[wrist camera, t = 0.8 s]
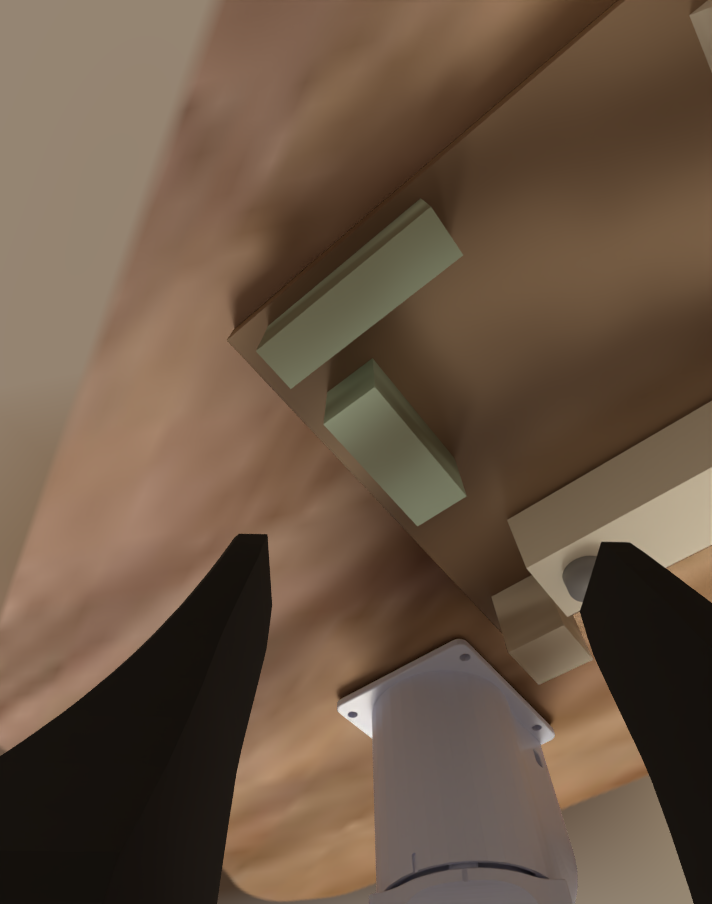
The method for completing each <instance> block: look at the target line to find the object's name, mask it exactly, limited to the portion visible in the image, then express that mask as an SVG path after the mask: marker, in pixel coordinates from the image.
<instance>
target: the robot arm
mask: <svg viewBox="0 0 712 904" xmlns="http://www.w3.org/2000/svg"><path fill="white" fill-rule="evenodd" d="M271 610H272V597H271V581H270V566H269V551H268V536H267V534H238V535H237V536H236V537H235V538H234V539H233V540H232V542H231V543H230V545H229V546H228V547H227V549H226V550H225V551H224V553H223V554H222V555H221V557H220V558H219V559H218V561H217V562H216V563H215V565H214V566H213V567H212V568H211V570H210V571H209V572H208V574H207V575H206V576H205V577H204V579H203V580H202V581H201V582H200V583H199V584H198V586H197V587H196V588H195V589H194V590H193V592H192V593H191V594H190V595H189V596H188V597H187V599H186V600H185V601H184V602H183V603H182V604H181V606H180V607H179V608H178V609H177V610H176V611H175V612H174V613H173V614H172V615H171V616H170V617H169V618H168V619H167V620H166V622H165V623H164V624H163V625H162V626H161V627H160V628H159V629H158V630H157V631H156V632H155V633H154V634H153V635H152V636H151V637H150V638H149V639H148V640H147V641H146V642H145V643H144V644H143V645H142V646H141V647H140V648H139V649H138V650H137V651H136V652H135V653H134V654H133V655H131V656H130V657H129V658H128V659H127V660H126V661H125V662H124V663H123V664H121V665H120V666H119V667H118V668H117V669H116V670H115V671H114V672H112V673H111V674H110V675H109V676H108V677H107V678H105V679H104V680H103V681H102V682H100V683H99V684H98V685H97V686H96V687H94V688H93V689H92V690H91V691H90V692H88V693H87V694H86V695H85V696H84V697H82V698H81V699H80V700H79V701H77V702H76V703H75V704H73V705H72V706H71V707H70V708H68V709H67V710H66V711H64V712H63V713H62V714H60V715H59V716H57V717H56V718H55V719H53V720H52V721H50V722H49V723H48V724H46V725H45V726H43V727H42V728H41V729H39V730H38V731H36V732H35V733H34V734H32V735H31V736H29V737H28V738H27V739H25V740H24V741H22V742H21V743H19V744H18V745H16V746H15V747H13V748H12V749H10V750H9V751H7V752H6V753H4V754H3V755H1V756H0V904H217V900H218V893H219V885H220V878H221V871H222V865H223V858H224V851H225V844H226V837H227V830H228V824H229V817H230V811H231V804H232V798H233V792H234V785H235V779H236V773H237V768H238V763H239V758H240V754H241V749H242V745H243V741H244V737H245V733H246V729H247V725H248V721H249V717H250V713H251V709H252V705H253V701H254V697H255V693H256V689H257V685H258V681H259V677H260V673H261V669H262V665H263V661H264V657H265V652H266V648H267V640H268V633H269V626H270V618H271ZM580 613H581V617H582V620H583V624H584V627H585V630H586V634H587V637H588V640H589V643H590V646H591V649H592V652H593V655H594V657H595V659H596V661H597V664H598V666H599V668H600V670H601V672H602V675H603V677H604V679H605V681H606V683H607V685H608V687H609V690H610V692H611V694H612V696H613V698H614V700H615V702H616V704H617V706H618V709H619V711H620V713H621V715H622V717H623V719H624V721H625V723H626V725H627V727H628V730H629V732H630V734H631V736H632V738H633V740H634V742H635V744H636V746H637V749H638V751H639V753H640V755H641V757H642V759H643V762H644V764H645V766H646V769H647V771H648V773H649V776H650V778H651V780H652V783H653V786H654V789H655V791H656V794H657V797H658V799H659V802H660V805H661V808H662V811H663V813H664V816H665V819H666V822H667V824H668V827H669V830H670V833H671V835H672V838H673V842H674V844H675V847H676V851H677V854H678V856H679V860H680V863H681V866H682V869H683V872H684V875H685V877H686V881H687V884H688V886H689V890H690V893H691V896H692V899H693V903H694V904H712V603H711V602H710V601H708V600H707V599H706V598H704V597H703V596H702V595H700V594H699V593H698V592H696V591H695V590H694V589H692V588H691V587H690V586H688V585H687V584H686V583H684V582H683V581H682V580H680V579H679V578H678V577H677V576H675V575H674V574H673V573H671V572H670V571H669V570H667V569H666V568H665V567H663V566H662V565H661V564H659V563H658V562H657V561H655V560H654V559H653V558H651V557H650V556H649V555H647V554H646V553H645V552H643V551H642V550H640V549H639V548H637V547H636V546H634V545H633V544H631V543H630V542H601V544H600V548H599V551H598V554H597V557H596V561H595V564H594V567H593V570H592V574H591V577H590V580H589V583H588V587H587V590H586V593H585V596H584V600H583V603H582V606H581V609H580ZM463 654H464V655H463ZM337 711H338V712H339V713H340V714H341V715H343V716H344V717H345V718H346V719H348V720H349V721H350V722H352V723H353V724H354V725H355V726H357V727H358V728H359V729H361V730H362V731H363V732H364V733H366V734H367V735H368V736H369V737H371V738H372V743H373V779H374V816H375V852H376V888H377V893H371V894H370V895H369V904H575V900H576V895H577V886H578V884H577V882H578V881H577V880H578V879H577V866H576V860H575V856H574V853H573V849H572V846H571V842H570V839H569V836H568V833H567V829H566V826H565V823H564V820H563V816H562V813H561V810H560V807H559V803H558V800H557V797H556V794H555V790H554V787H553V784H552V781H551V778H550V774H549V771H548V768H547V765H546V761H545V758H544V755H543V752H542V748H541V744H544V743H546V742H548V741H550V740H552V739H553V738H554V737H555V733H554V730H553V728H552V727H551V726H550V725H549V724H548V723H547V722H546V721H545V720H544V719H543V718H542V717H541V716H540V715H539V714H538V713H537V712H536V711H535V710H534V709H533V708H532V707H531V706H530V704H529V703H528V702H527V701H526V700H525V699H524V698H523V697H522V696H521V695H520V694H519V693H518V692H517V691H516V690H515V689H514V688H513V687H512V686H511V685H510V684H509V683H508V682H507V681H506V680H505V679H504V678H503V677H502V676H501V675H500V674H499V673H498V672H497V671H496V670H495V669H494V668H493V667H492V666H491V665H490V664H489V663H488V662H487V661H486V660H485V659H484V658H483V657H482V656H481V655H480V654H479V653H478V652H477V651H476V650H475V649H474V648H473V647H472V646H471V645H470V644H469V643H468V642H467V641H465V640H463V639H455V640H452V641H451V642H449V643H447V644H445V645H443V646H441V647H439V648H437V649H435V650H433V651H431V652H430V653H428V654H426V655H424V656H422V657H420V658H418V659H416V660H414V661H412V662H410V663H409V664H407V665H405V666H403V667H401V668H399V669H397V670H395V671H393V672H391V673H389V674H387V675H386V676H384V677H382V678H380V679H378V680H376V681H374V682H372V683H370V684H368V685H366V686H365V687H363V688H361V689H359V690H357V691H355V692H353V693H351V694H349V695H347V696H345V697H344V698H342V699H340V700H339V701H338V703H337Z"/></svg>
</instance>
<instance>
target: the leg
mask: <svg viewBox="0 0 712 904" xmlns="http://www.w3.org/2000/svg"><path fill="white" fill-rule="evenodd" d="M507 521H508V524H509V526H510V529H511V531H512V534H513V536H514V539H515V541H516V544H517V546H518V549H519V551H520V553H521V556H522V558H523V561H524V563H525V566H526V568H527V569H528V571H529V572H530V573H531V574H532V575H533V577H534V578H535V579H536V580H537V581H538V583H539V584H540V585H541V586H542V587H543V589H544V590H545V591H546V592H547V593H548V594H549V596H550V597H551V598H552V599H553V600H554V602H555V603H556V604H557V605H558V606H559V608H560V609H561V610H562V611H563V612H564V614H565V615H566V616H567V617H568V616H570V615H572V614H574V613H576V612H578V611H580V609H581V606H582V603H583V600H584V596H585V593H586V590H587V587H588V583H589V580H590V577H591V574H592V570H593V567H594V564H595V561H596V557H597V554H598V551H599V548H600V544H601V542H630V543H631V544H633V545H634V546H636V547H637V548H639V549H640V550H642V551H643V552H645V553H646V554H647V555H649V556H650V557H651V558H653V559H654V560H655V561H657V562H658V563H659V564H661V565H662V566H663V567H665V568H666V567H668V566H670V565H672V564H674V563H676V562H678V561H680V560H682V559H684V558H686V557H688V556H690V555H692V554H694V553H696V552H698V551H700V550H702V549H704V548H706V547H708V546H710V545H712V401H710V402H709V403H707V404H705V405H704V406H702V407H700V408H698V409H697V410H695V411H693V412H691V413H690V414H688V415H686V416H685V417H683V418H681V419H679V420H678V421H676V422H674V423H673V424H671V425H669V426H667V427H666V428H664V429H662V430H661V431H659V432H657V433H655V434H654V435H652V436H650V437H649V438H647V439H645V440H643V441H642V442H640V443H638V444H637V445H635V446H633V447H631V448H630V449H628V450H626V451H625V452H623V453H621V454H619V455H618V456H616V457H614V458H613V459H611V460H609V461H607V462H606V463H604V464H602V465H601V466H599V467H597V468H595V469H594V470H592V471H590V472H589V473H587V474H585V475H583V476H582V477H580V478H578V479H577V480H575V481H573V482H571V483H570V484H568V485H566V486H565V487H563V488H561V489H559V490H558V491H556V492H554V493H553V494H551V495H549V496H547V497H546V498H544V499H542V500H541V501H539V502H537V503H535V504H534V505H532V506H530V507H529V508H527V509H525V510H523V511H522V512H520V513H518V514H516V515H515V516H513V517H511V518H510V519H508V520H507Z"/></svg>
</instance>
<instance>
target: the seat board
mask: <svg viewBox="0 0 712 904" xmlns="http://www.w3.org/2000/svg"><path fill="white" fill-rule="evenodd" d="M227 341H228V342H229V343H230V344H231V345H232V346H233V347H234V349H235V350H236V351H237V352H238V353H239V354H240V355H241V356H242V357H243V358H244V359H245V360H246V361H247V362H248V363H249V364H250V366H251V367H252V368H253V369H254V370H255V371H256V372H257V373H258V374H259V375H260V376H261V377H262V378H263V379H264V380H265V382H266V383H267V384H268V385H269V386H270V387H271V388H272V389H273V390H274V391H275V392H276V393H277V394H278V395H279V396H280V397H281V399H282V400H283V401H284V402H285V403H286V404H287V405H288V406H289V407H290V408H291V409H292V410H293V411H294V412H295V413H296V414H297V416H298V417H299V418H300V419H301V420H302V421H303V422H304V423H305V424H306V425H307V426H308V427H309V428H310V429H311V430H312V432H313V433H314V434H315V435H316V436H317V437H318V438H319V439H320V440H321V441H322V442H323V443H324V444H325V445H326V446H327V447H328V449H329V450H330V451H331V452H332V453H333V454H334V455H335V456H336V457H337V458H338V459H339V460H340V461H341V462H342V463H343V465H344V466H345V467H346V468H347V469H348V470H349V471H350V472H351V473H352V474H353V475H354V476H355V477H356V478H357V479H358V480H359V482H360V483H361V484H362V485H363V486H364V487H365V488H366V489H367V490H368V491H369V492H370V493H371V494H372V495H373V496H374V497H375V499H376V500H377V501H378V502H379V503H380V504H381V505H382V506H383V507H384V508H385V509H386V510H387V511H388V512H389V513H390V515H391V516H392V517H393V518H394V519H395V520H396V521H397V522H398V523H399V524H400V525H401V526H402V527H403V528H404V529H405V530H406V532H407V533H408V534H409V535H410V536H411V537H412V538H413V539H414V540H415V541H416V542H417V543H418V544H419V545H420V546H421V548H422V549H423V550H424V551H425V552H426V553H427V554H428V555H429V556H430V557H431V558H432V559H433V560H434V561H435V562H436V563H437V565H438V566H439V567H440V568H441V569H442V570H443V571H444V572H445V573H446V574H447V575H448V576H449V577H450V578H451V579H452V580H453V582H454V583H455V584H456V585H457V586H458V587H459V588H460V589H461V590H462V591H463V592H464V593H465V594H466V595H467V596H468V598H469V599H470V600H471V601H472V602H473V603H474V604H475V605H476V606H477V607H478V608H479V609H480V610H481V611H482V612H483V613H484V615H485V616H486V617H487V618H488V619H489V620H490V621H491V622H492V623H493V624H494V625H495V626H496V627H497V628H498V629H499V631H500V632H501V633H502V634H503V637H504V641H505V644H506V647H507V651H508V653H509V654H510V655H511V656H512V657H513V658H514V659H515V660H516V662H517V663H518V664H519V665H520V666H521V667H522V668H523V669H524V670H525V671H526V672H527V673H528V674H529V675H530V676H531V677H532V678H533V679H534V680H535V681H536V682H537V684H538V685H540V684H542V683H544V682H546V681H548V680H550V679H553V678H555V677H557V676H559V675H561V674H563V673H565V672H568V671H570V670H572V669H574V668H576V667H578V666H580V665H583V664H585V663H587V662H589V661H591V660H593V658H592V656H591V654H590V651H589V649H588V647H587V645H586V643H585V641H584V638H583V636H582V634H581V632H580V630H579V628H578V625H577V623H576V621H575V619H574V617H573V615H574V614H576V613H578V612H580V611H578V612H576V613H574V614H572V615H570V616H568V617H567V616H566V615H565V614H564V612H563V611H562V610H561V609H560V608H559V606H558V605H557V604H556V603H555V602H554V600H553V599H552V598H551V597H550V596H549V594H548V593H547V592H546V591H545V590H544V589H543V587H542V586H541V585H540V584H539V583H538V581H537V580H536V579H535V578H534V577H533V575H532V574H531V573H530V572H529V571H528V569H527V568H526V566H525V563H524V561H523V558H522V556H521V553H520V551H519V549H518V546H517V544H516V541H515V539H514V536H513V534H512V531H511V529H510V526H509V524H508V521H507V520H508V519H510V518H511V517H513V516H515V515H516V514H518V513H520V512H522V511H523V510H525V509H527V508H529V507H530V506H532V505H534V504H535V503H537V502H539V501H541V500H542V499H544V498H546V497H547V496H549V495H551V494H553V493H554V492H556V491H558V490H559V489H561V488H563V487H565V486H566V485H568V484H570V483H571V482H573V481H575V480H577V479H578V478H580V477H582V476H583V475H585V474H587V473H589V472H590V471H592V470H594V469H595V468H597V467H599V466H601V465H602V464H604V463H606V462H607V461H609V460H611V459H613V458H614V457H616V456H618V455H619V454H621V453H623V452H625V451H626V450H628V449H630V448H631V447H633V446H635V445H637V444H638V443H640V442H642V441H643V440H645V439H647V438H649V437H650V436H652V435H654V434H655V433H657V432H659V431H661V430H662V429H664V428H666V427H667V426H669V425H671V424H673V423H674V422H676V421H678V420H679V419H681V418H683V417H685V416H686V415H688V414H690V413H691V412H693V411H695V410H697V409H698V408H700V407H702V406H704V405H705V404H707V403H709V402H710V401H712V0H618V1H617V2H615V3H614V4H613V5H612V6H611V7H610V8H608V9H607V10H606V11H605V12H604V13H603V14H601V15H600V16H599V17H598V18H597V19H596V20H594V21H593V22H592V23H591V24H590V25H589V26H587V27H586V28H585V29H584V30H583V31H582V32H580V33H579V34H578V35H577V36H576V37H575V38H573V39H572V40H571V41H570V42H569V43H568V44H566V45H565V46H564V47H563V48H562V49H561V50H559V51H558V52H557V53H556V54H555V55H554V56H552V57H551V58H550V59H549V60H548V61H547V62H545V63H544V64H543V65H542V66H541V67H540V68H538V69H537V70H536V71H535V72H534V73H533V74H531V75H530V76H529V77H528V78H527V79H526V80H524V81H523V82H522V83H521V84H520V85H519V86H517V87H516V88H515V89H514V90H513V91H512V92H510V93H509V94H508V95H507V96H506V97H505V98H503V99H502V100H501V101H500V102H499V103H498V104H496V105H495V106H494V107H493V108H492V109H491V110H489V111H488V112H487V113H486V114H485V115H484V116H482V117H481V118H480V119H479V120H478V121H477V122H475V123H474V124H473V125H472V126H471V127H470V128H468V129H467V130H466V131H465V132H464V133H463V134H461V135H460V136H459V137H458V138H457V139H456V140H454V141H453V142H452V143H451V144H450V145H449V146H447V147H446V148H445V149H444V150H443V151H442V152H440V153H439V154H438V155H437V156H436V157H435V158H433V159H432V160H431V161H430V162H429V163H428V164H427V165H425V166H424V167H423V168H422V169H421V170H420V171H418V172H417V173H416V174H415V175H414V176H413V177H411V178H410V179H409V180H408V181H407V182H406V183H404V184H403V185H402V186H401V187H400V188H399V189H397V190H396V191H395V192H394V193H393V194H392V195H390V196H389V197H388V198H387V199H386V200H385V201H383V202H382V203H381V204H380V205H379V206H378V207H376V208H375V209H374V210H373V211H372V212H371V213H369V214H368V215H367V216H366V217H365V218H364V219H362V220H361V221H360V222H359V223H358V224H357V225H355V226H354V227H353V228H352V229H351V230H350V231H348V232H347V233H346V234H345V235H344V236H343V237H341V238H340V239H339V240H338V241H337V242H336V243H334V244H333V245H332V246H331V247H330V248H329V249H327V250H326V251H325V252H324V253H323V254H322V255H320V256H319V257H318V258H317V259H316V260H315V261H313V262H312V263H311V264H310V265H309V266H308V267H306V268H305V269H304V270H303V271H302V272H301V273H299V274H298V275H297V276H296V277H295V278H294V279H292V280H291V281H290V282H289V283H288V284H287V285H285V286H284V287H283V288H282V289H281V290H280V291H278V292H277V293H276V294H275V295H274V296H273V297H271V298H270V299H269V300H268V301H267V302H266V303H264V304H263V305H262V306H261V307H260V308H259V309H257V310H256V311H255V312H254V313H253V314H252V315H250V316H249V317H248V318H247V319H246V320H245V321H243V322H242V323H241V324H240V325H239V326H238V327H236V328H235V329H234V330H233V332H232V333H231V335H230V336H229V338H228V339H227ZM710 546H712V545H710ZM710 546H708V547H710ZM708 547H706V548H708ZM706 548H704V549H706ZM704 549H702V550H704ZM702 550H700V551H702ZM700 551H698V552H700ZM698 552H696V553H698ZM696 553H694V554H696ZM694 554H692V555H694ZM692 555H690V556H692ZM690 556H688V557H690ZM688 557H686V558H688ZM686 558H684V559H686ZM684 559H682V560H684ZM682 560H680V561H682ZM680 561H678V562H680ZM678 562H676V563H678ZM676 563H674V564H676ZM674 564H672V565H674ZM672 565H670V566H672ZM670 566H668V567H670ZM668 567H666V568H668Z"/></svg>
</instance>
